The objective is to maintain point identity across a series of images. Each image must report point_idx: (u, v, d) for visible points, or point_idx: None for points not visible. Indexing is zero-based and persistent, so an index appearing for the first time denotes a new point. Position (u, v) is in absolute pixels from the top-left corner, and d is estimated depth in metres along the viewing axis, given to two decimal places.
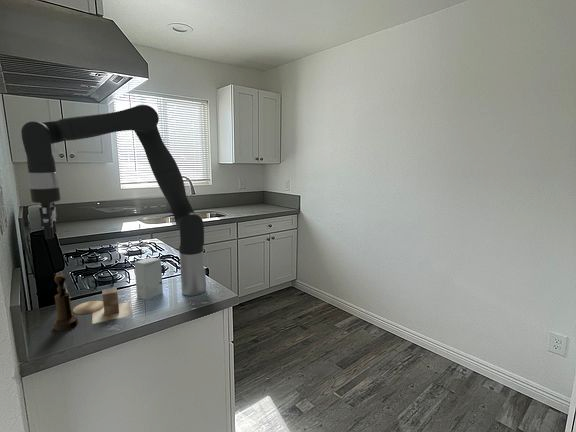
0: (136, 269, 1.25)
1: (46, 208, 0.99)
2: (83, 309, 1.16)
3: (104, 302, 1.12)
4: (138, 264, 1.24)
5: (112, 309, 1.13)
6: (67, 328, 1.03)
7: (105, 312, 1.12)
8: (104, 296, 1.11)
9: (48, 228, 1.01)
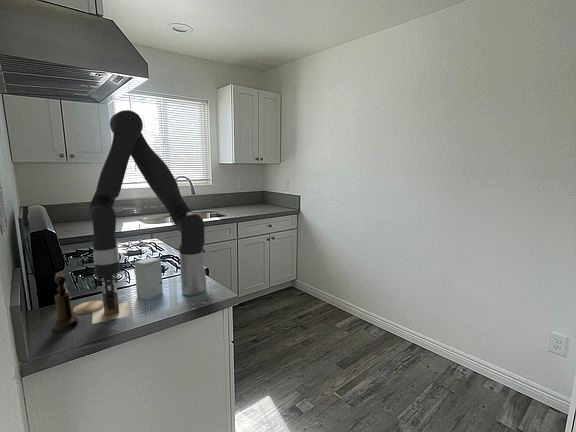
0: (136, 269, 1.25)
1: (111, 286, 1.08)
2: (83, 309, 1.16)
3: (104, 302, 1.12)
4: (138, 264, 1.24)
5: (112, 309, 1.13)
6: (67, 328, 1.03)
7: (105, 312, 1.12)
8: (104, 296, 1.11)
9: (111, 300, 1.11)
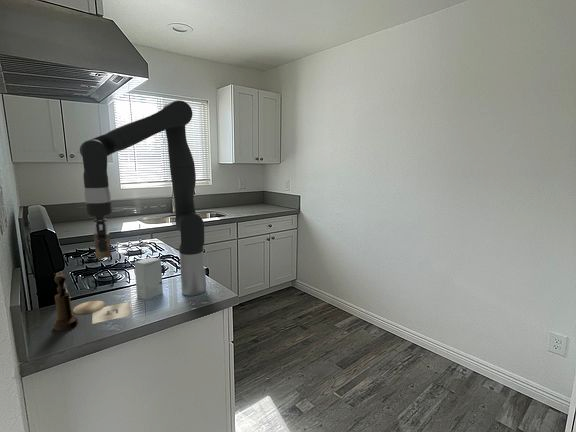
0: (136, 269, 1.25)
1: (102, 225, 1.04)
2: (83, 309, 1.16)
3: (95, 244, 1.08)
4: (138, 264, 1.24)
5: (104, 252, 1.10)
6: (67, 328, 1.03)
7: (97, 254, 1.09)
8: (95, 237, 1.08)
9: (103, 242, 1.08)
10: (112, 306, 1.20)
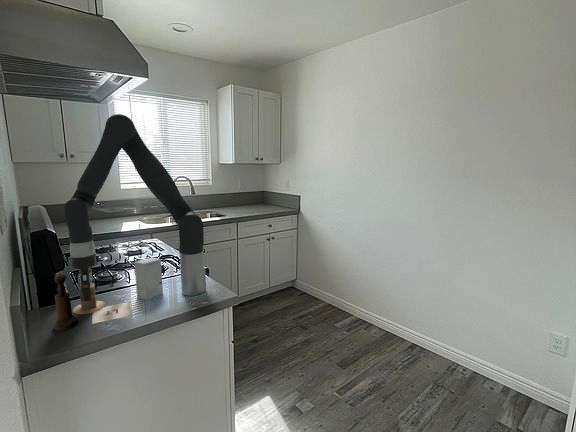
0: (136, 269, 1.25)
1: (86, 275, 1.11)
2: None
3: (81, 297, 1.15)
4: (138, 264, 1.24)
5: (89, 304, 1.16)
6: (67, 328, 1.03)
7: (82, 307, 1.15)
8: (81, 291, 1.14)
9: (87, 292, 1.13)
10: (112, 306, 1.20)
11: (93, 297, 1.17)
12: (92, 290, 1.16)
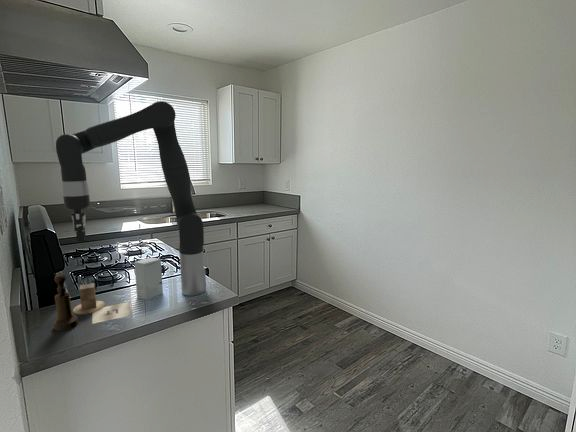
0: (136, 269, 1.25)
1: (79, 214, 1.07)
2: None
3: (81, 297, 1.15)
4: (138, 264, 1.24)
5: (89, 304, 1.16)
6: (67, 328, 1.03)
7: (82, 307, 1.15)
8: (81, 291, 1.14)
9: (80, 232, 1.09)
10: (112, 306, 1.20)
11: (93, 297, 1.17)
12: (92, 290, 1.16)
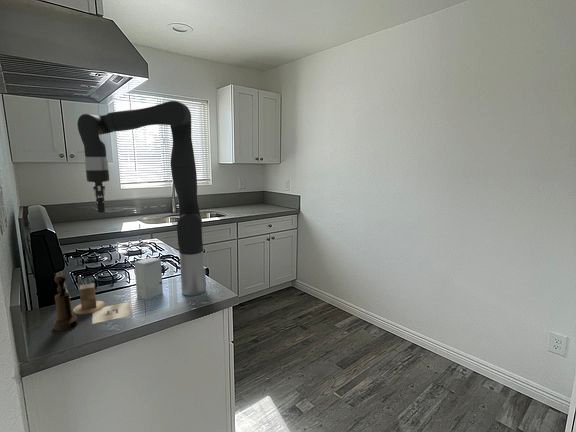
0: (136, 269, 1.25)
1: (100, 186, 1.19)
2: None
3: (81, 297, 1.15)
4: (138, 264, 1.24)
5: (89, 304, 1.16)
6: (67, 328, 1.03)
7: (82, 307, 1.15)
8: (81, 291, 1.14)
9: (101, 203, 1.21)
10: (112, 306, 1.20)
11: (93, 297, 1.17)
12: (92, 290, 1.16)
